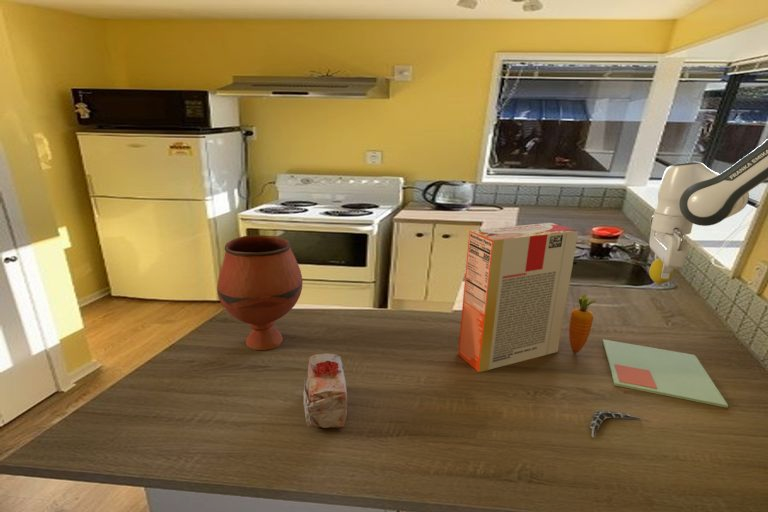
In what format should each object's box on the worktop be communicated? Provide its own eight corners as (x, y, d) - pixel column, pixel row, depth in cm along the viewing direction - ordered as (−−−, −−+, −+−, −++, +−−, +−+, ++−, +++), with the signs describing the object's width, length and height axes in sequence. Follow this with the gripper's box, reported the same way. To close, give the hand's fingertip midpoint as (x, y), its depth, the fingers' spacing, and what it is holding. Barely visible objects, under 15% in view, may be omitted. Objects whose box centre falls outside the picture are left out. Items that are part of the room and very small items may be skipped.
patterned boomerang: (620, 401, 83) (644, 418, 79) (620, 404, 83) (643, 421, 79) (571, 416, 78) (594, 436, 74) (571, 420, 78) (593, 439, 74)
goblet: (256, 373, 90) (248, 262, 82) (206, 344, 101) (194, 243, 93) (321, 339, 104) (319, 242, 97) (271, 316, 115) (265, 227, 108)
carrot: (568, 345, 105) (579, 289, 100) (589, 353, 101) (601, 295, 97) (560, 352, 101) (570, 295, 97) (581, 361, 98) (592, 301, 93)
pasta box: (533, 336, 109) (550, 222, 99) (557, 351, 102) (578, 230, 92) (458, 354, 100) (469, 230, 90) (478, 372, 93) (493, 240, 83)
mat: (694, 357, 101) (695, 354, 101) (727, 408, 83) (728, 405, 83) (602, 341, 107) (602, 338, 107) (614, 385, 89) (615, 382, 89)
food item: (351, 432, 74) (351, 383, 71) (304, 437, 72) (302, 388, 69) (342, 385, 87) (342, 342, 84) (303, 389, 85) (301, 346, 82)
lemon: (647, 279, 120) (653, 252, 118) (671, 284, 117) (677, 256, 115) (645, 285, 116) (651, 257, 113) (669, 290, 113) (676, 261, 110)
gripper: (698, 235, 101) (685, 288, 105) (675, 217, 119) (664, 264, 124) (668, 232, 103) (656, 285, 107) (649, 215, 121) (640, 261, 126)
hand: (660, 273), depth 115 cm, fingers closed on lemon, 5 cm apart
